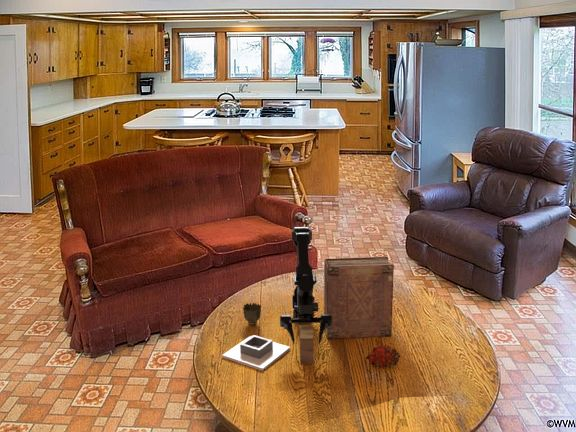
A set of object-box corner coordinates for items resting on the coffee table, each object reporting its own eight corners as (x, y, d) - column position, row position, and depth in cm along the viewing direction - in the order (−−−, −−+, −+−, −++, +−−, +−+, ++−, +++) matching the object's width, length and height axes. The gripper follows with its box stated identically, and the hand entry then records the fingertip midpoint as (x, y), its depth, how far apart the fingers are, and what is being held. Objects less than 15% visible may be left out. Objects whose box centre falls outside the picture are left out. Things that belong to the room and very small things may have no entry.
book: (385, 326, 238) (388, 256, 230) (391, 336, 230) (394, 264, 222) (323, 328, 237) (324, 258, 228) (327, 339, 228) (327, 267, 220)
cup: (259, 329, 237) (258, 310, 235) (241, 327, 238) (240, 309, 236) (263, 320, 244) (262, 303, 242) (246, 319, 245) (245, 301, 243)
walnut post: (299, 357, 215) (299, 325, 211) (312, 357, 215) (312, 324, 211) (300, 363, 210) (300, 330, 207) (313, 363, 210) (313, 330, 207)
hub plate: (251, 337, 230) (251, 327, 229) (290, 349, 221) (290, 338, 219) (222, 357, 215) (222, 346, 214) (262, 370, 206) (262, 359, 205)
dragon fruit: (402, 371, 207) (368, 375, 209) (398, 349, 213) (365, 353, 214) (402, 361, 201) (367, 365, 202) (398, 339, 206) (363, 343, 207)
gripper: (279, 294, 210) (280, 336, 203) (331, 293, 211) (334, 335, 203) (279, 305, 220) (280, 346, 212) (329, 304, 220) (332, 345, 213)
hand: (306, 343), depth 210 cm, fingers open, 9 cm apart
